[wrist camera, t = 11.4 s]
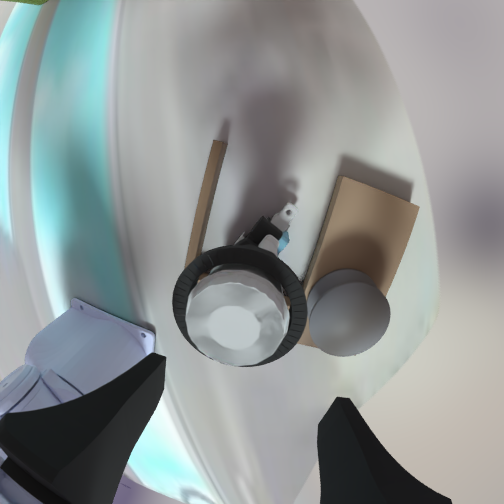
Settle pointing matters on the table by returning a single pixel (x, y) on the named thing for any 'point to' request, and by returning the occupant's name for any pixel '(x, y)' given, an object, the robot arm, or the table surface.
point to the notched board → (338, 260)
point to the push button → (243, 298)
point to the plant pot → (29, 1)
